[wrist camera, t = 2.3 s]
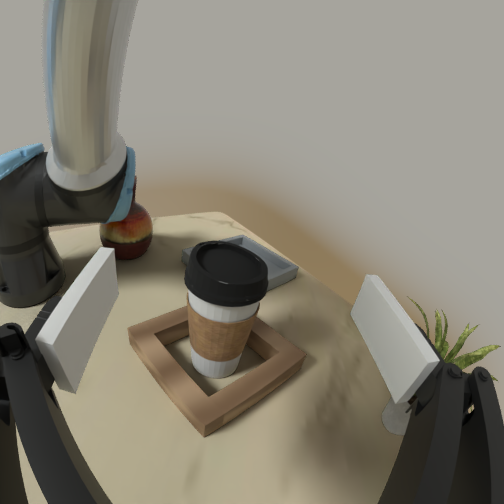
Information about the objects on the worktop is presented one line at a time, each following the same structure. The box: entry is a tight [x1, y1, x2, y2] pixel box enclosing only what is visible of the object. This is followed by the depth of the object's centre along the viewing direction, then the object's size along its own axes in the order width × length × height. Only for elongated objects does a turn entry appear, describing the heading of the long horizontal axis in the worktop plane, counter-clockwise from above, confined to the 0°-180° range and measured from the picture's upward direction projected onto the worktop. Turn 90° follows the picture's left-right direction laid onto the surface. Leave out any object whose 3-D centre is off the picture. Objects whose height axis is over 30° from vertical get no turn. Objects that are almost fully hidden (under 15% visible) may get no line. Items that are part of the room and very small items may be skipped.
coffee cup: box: [184, 241, 269, 378], centre depth 30 cm, size 8×8×15 cm
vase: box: [99, 176, 153, 260], centre depth 50 cm, size 11×11×15 cm
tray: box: [182, 235, 299, 291], centre depth 54 cm, size 16×16×2 cm
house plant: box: [382, 299, 500, 435], centre depth 24 cm, size 14×14×16 cm
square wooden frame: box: [128, 306, 307, 437], centre depth 33 cm, size 16×16×3 cm
